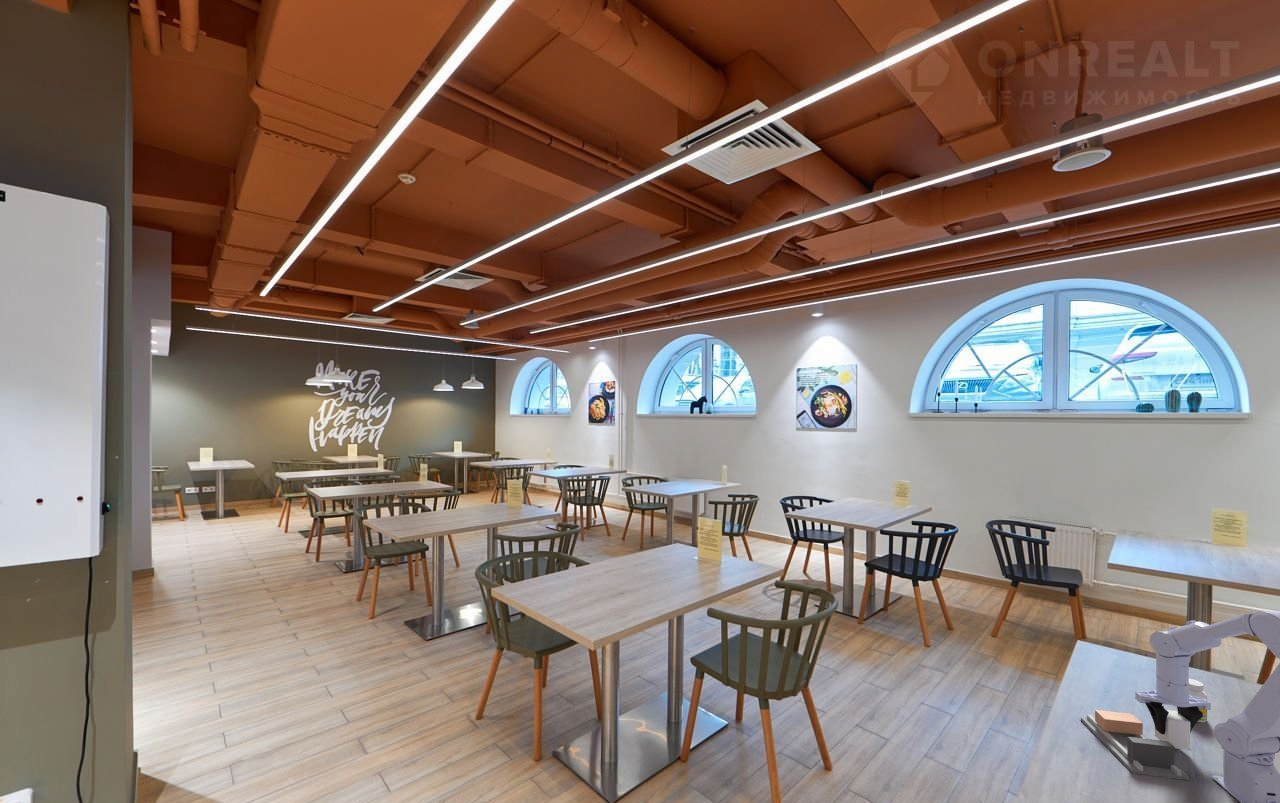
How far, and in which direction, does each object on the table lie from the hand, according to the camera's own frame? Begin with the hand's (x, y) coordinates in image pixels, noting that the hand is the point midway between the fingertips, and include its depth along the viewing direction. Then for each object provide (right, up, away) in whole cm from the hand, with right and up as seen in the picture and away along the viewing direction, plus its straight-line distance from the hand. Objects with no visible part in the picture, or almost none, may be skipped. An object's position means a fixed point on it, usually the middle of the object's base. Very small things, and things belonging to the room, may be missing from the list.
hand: (1172, 733), depth 130 cm
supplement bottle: (+18, -4, +12) cm, 22 cm away
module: (0, -2, 0) cm, 2 cm away
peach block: (-9, -2, +5) cm, 10 cm away
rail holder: (-10, -4, 0) cm, 11 cm away
